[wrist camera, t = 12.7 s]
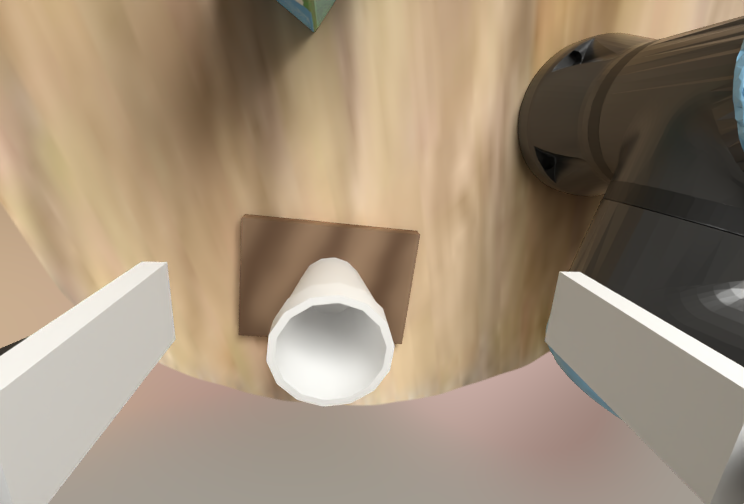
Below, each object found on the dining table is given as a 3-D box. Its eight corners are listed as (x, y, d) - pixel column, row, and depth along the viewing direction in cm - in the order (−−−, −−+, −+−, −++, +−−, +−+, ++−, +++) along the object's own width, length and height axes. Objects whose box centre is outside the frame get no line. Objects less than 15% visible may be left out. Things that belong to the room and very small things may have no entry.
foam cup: (291, 329, 42) (275, 412, 30) (279, 248, 39) (256, 303, 27) (377, 319, 43) (397, 397, 30) (372, 239, 40) (391, 289, 27)
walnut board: (416, 230, 41) (420, 234, 40) (399, 337, 45) (401, 344, 44) (244, 214, 39) (241, 217, 38) (241, 328, 43) (238, 335, 41)
